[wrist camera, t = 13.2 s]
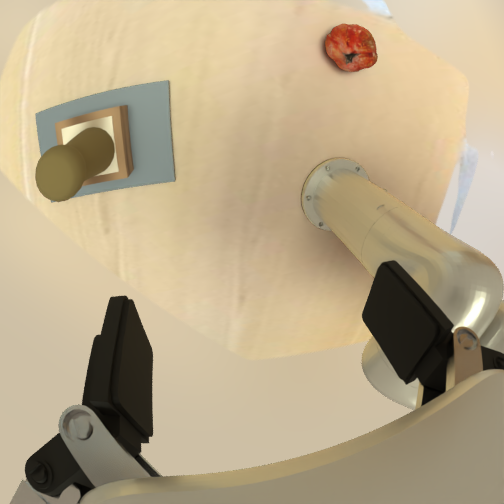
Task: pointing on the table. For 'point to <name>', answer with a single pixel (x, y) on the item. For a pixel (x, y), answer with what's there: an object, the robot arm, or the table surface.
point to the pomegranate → (351, 47)
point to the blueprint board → (140, 127)
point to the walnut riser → (116, 128)
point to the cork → (74, 163)
